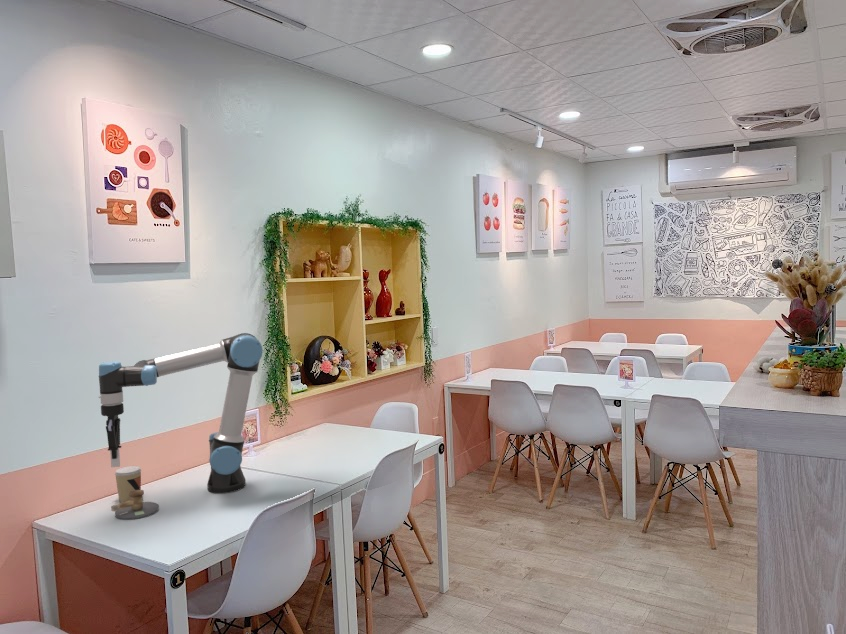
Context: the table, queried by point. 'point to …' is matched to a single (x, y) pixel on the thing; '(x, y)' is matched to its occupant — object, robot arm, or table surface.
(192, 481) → the table surface
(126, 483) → the coffee cup
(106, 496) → the table surface
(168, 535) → the table surface
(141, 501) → the peg dial
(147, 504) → the plate
